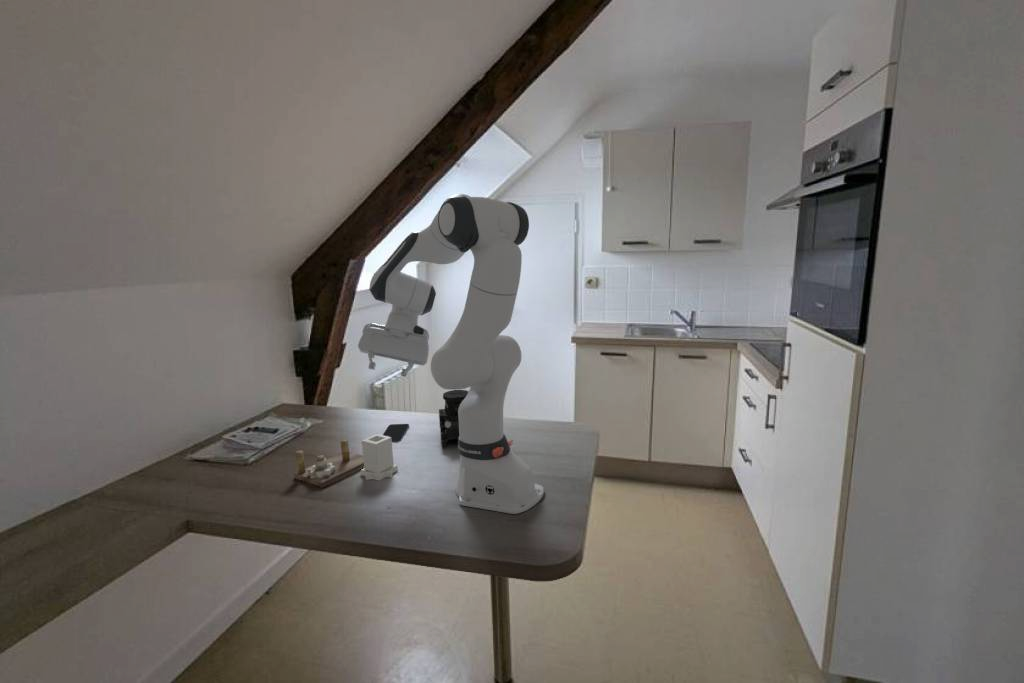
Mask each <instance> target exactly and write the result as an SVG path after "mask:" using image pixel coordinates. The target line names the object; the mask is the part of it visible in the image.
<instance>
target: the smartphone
mask: <svg viewBox="0 0 1024 683" xmlns="http://www.w3.org/2000/svg"><path fill="white" fill-rule="evenodd" d="M409 428H410V424H409V423H397V424H395V423H394V424H393V423H391V424H389V425H388V426H387V427H386V429H385V431H384V432H383V434H382V435H384V436H388V437H391V439H392V443H399V442H398V441H400V442H401V441H402V440H403V438H404V437H405V435H406V433H407V432H406V431H408V430H409ZM407 429H408V430H407ZM404 434H405V435H404ZM403 436H404V437H403ZM401 439H402V440H401Z"/></svg>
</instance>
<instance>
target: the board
mask: <svg viewBox="0 0 1024 683" xmlns="http://www.w3.org/2000/svg"><path fill="white" fill-rule="evenodd" d="M340 449H341V452H340V453H337V454H335V455H333V456H330V457H327V458H326V457H325V455H323V454H321V455H317V456H316V457H315V458H316V459H315V460H314V464H313V465H310V466H307V467H305V457H304V450H297V451H295V452H294V454H295V456H294V457H295V462H296V472H294V473H293V474H294V475H293V476H294V479H295V478H296V480H298V479H299V481H301V480H302V482H304V481H305V482H304V483H307V482H308V484H310V483H311V484H310V485H312V484H314V485H313V486H315V485H317V486H316V487H318V486H320V487H319V488H321V487H322V489H323V487H324V488H326V487H328V486H329V484H330V485H332V484H334V483H336V482H338V481H340V480H343V479H344V478H346V477H348V476H350V474H351V475H353V474H354V472H355V473H356V472H358V470H359V471H361V470H360V469H362V468H364V460H363V454H358V453H355V452H352V451H350V447H349V439H345V438H344V439H341V440H340ZM352 473H353V474H352ZM339 479H340V480H339ZM337 480H338V481H337ZM335 481H336V482H335ZM333 482H334V483H333ZM331 483H332V484H331ZM327 485H328V486H327ZM325 486H326V487H325Z"/></svg>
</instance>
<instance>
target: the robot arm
mask: <svg viewBox="0 0 1024 683" xmlns="http://www.w3.org/2000/svg"><path fill="white" fill-rule="evenodd" d="M529 230H530V221H529V216H528V212H527V211H526V210H525V208H523V207H522V206H521V205H519V204H516V203H514V202H509V201H501V200H497V199H493V198H491V197H490V198H489V197H483V196H470V195H468V194H464V193H457V194H454V195H452V196H450V197H448V198H446V199H445V200H444V201H443V202H442V204H441V205H440V208H439V210H438V212H437V213H436V214H435V215H434V217H433V219H432V221H431V223H430V224H429V225H428V226H427V227H426V228H424V229H421V230H419V231H412V232H410V234H408V235H407V236H406V237H405V238H404V240H402V242H401V243H400V244H399V245H398V246H397V247H396V249H395V250H394V251H393V252H392V254H391V255H390V256H389V257H388V259H387V260H386V261H385V262H384V263H383V264H382V265H380V267H379V268H378V269H377V270H376V271H375V272H374V273H373V275H372V276H371V279H370V281H369V288H368V289H369V292H370V293H371V296H372V297H373V298H374V300H375V301H378V302H383V303H385V304H390V305H391V310H390V312H389V314H388V316H387V319H386V322H385V325H384V324H377V323H374V322H370V323H368V324H366V325H364V326H363V329H362V335H361V337H360V339H359V341H358V344H357V348H358V350H359V351H360V353H363V354H367V356H368V360H369V364H368V369H369V370H375V369H376V362H374V361H373V359H374V358H375V356H378V357H383V358H386V359H391V360H396V361H399V362H405V363H407V364H408V365H407V366H406V368H402V369H401V372H400V375H401V377H407V376H408V372H409V371H410V370H411V369H412V368H414V365H418V366H425V365H427V363H428V358H429V351H430V349H429V348H430V347H429V341H430V340H429V339H430V335H429V331H428V330H427V329H426V328H424V327H422V326H420V325H418V319H419V317H420V316H424V315H426V314H427V313H429V312H431V311H432V309H433V306H434V303H435V299H436V295H437V293H436V290H435V287H434V285H433V284H431V283H430V282H428V281H425V280H423V279H420V278H418V277H415V276H412V275H410V274H407V273H405V272H402V270H403V269H404V268H405V267H406V266H407V264H410V263H413V262H422V263H423V262H424V263H429V264H430V263H432V264H437V265H449V264H453V263H455V262H457V261H459V260H460V259H461V258H462V257H463V256H464V254H466V252H468V251H469V250H470V251H471V252H472V255H473V267H472V272H471V274H470V275H471V276H470V281H469V286H468V291H467V294H466V295H467V296H466V300H465V304H464V308H463V312H462V315H461V316H460V320H459V321H458V323H457V325H456V327H455V328H454V329H453V332H452V334H451V335H450V336H449V338H448V339H447V340H446V342H445V343H443V345H442V346H441V347H440V348H439V349H437V350H436V351H435V352H434V353H433V355H432V357H431V359H430V360H431V361H430V372H431V376H432V378H433V380H434V381H435V383H436V384H437V385H438V386H439V387H440V388H442V389H444V390H449V391H451V390H466V389H468V388H469V390H468V391H469V392H468V394H467V396H466V397H465V399H464V400H463V401H462V402H461V404H460V406H459V409H458V418H459V437H458V439H457V450H458V453H459V470H458V472H459V474H458V478H457V485H456V488H455V492H456V495H457V496H458V504H459V505H460V506H465V507H469V508H470V507H471V508H477V509H483V510H489V511H493V512H494V511H495V512H500V513H506V514H512V515H517V514H520V513H523V512H526V511H528V510H530V509H532V508H533V507H534V506H535V505H536V504H537V503H539V501H541V499H542V498H543V497H544V494H545V489H544V487H543V486H542V485H540V484H538V483H535V478H534V472H533V471H532V468H531V467H530V466H529V465H527V464H526V463H525V462H524V461H523V460H522V459H520V458H519V457H518V456H517V455H516V454H515V453H514V452H513V451H512V450H511V446H512V445H514V440H513V439H510V441H508V439H507V437H506V434H505V433H504V407H505V406H504V404H505V400H506V399H505V398H506V395H507V391H508V388H509V384H510V381H511V379H512V377H513V375H514V374H515V371H516V370H517V369H518V368H519V367H520V364H521V362H522V351H521V347H520V345H519V343H518V341H516V340H515V338H514V337H512V336H509V335H502V334H501V333H502V332H503V331H504V330H506V329H507V327H508V326H509V325H510V322H511V320H512V318H513V312H514V308H515V304H516V299H517V294H518V290H519V286H520V280H521V272H522V258H523V257H522V250H521V247H520V245H521V244H522V243H523V242H524V241H525V240H526V239H527V236H528V233H529Z"/></svg>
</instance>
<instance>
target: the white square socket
mask: <svg viewBox="0 0 1024 683" xmlns="http://www.w3.org/2000/svg"><path fill="white" fill-rule="evenodd" d="M361 447H362V455H363V460H364V468H363V469H361V470H360V476H362V475H363V476H362V477H365V481H369V480H376V481H381V480H383V479H385V478H392V477H393V474H394V473H396V472H398V470H399V468H398V464H394V453H393V442H392V439H391V437H388V436H384V435H383V434H379V433H376V434H374V435H371V436H369V437H366V438H364V439H362V440H361Z"/></svg>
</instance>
